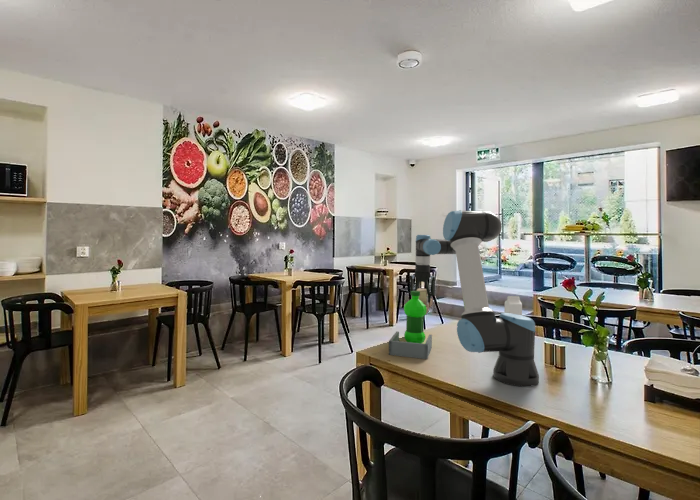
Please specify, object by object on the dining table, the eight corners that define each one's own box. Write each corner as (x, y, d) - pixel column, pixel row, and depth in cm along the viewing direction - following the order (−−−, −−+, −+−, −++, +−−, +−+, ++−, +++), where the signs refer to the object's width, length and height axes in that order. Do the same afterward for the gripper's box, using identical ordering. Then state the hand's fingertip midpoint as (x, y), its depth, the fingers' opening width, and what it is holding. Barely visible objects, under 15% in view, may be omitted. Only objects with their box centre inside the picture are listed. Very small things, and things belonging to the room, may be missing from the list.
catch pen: (427, 359, 155) (427, 345, 155) (388, 354, 160) (388, 340, 160) (431, 347, 170) (431, 334, 170) (396, 344, 175) (396, 331, 175)
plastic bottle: (424, 348, 169) (425, 293, 167) (401, 346, 172) (402, 292, 171) (427, 342, 178) (428, 290, 177) (405, 340, 181) (405, 289, 180)
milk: (503, 339, 184) (504, 295, 183) (515, 339, 184) (516, 295, 183) (508, 343, 178) (509, 297, 177) (521, 343, 178) (522, 297, 177)
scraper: (426, 314, 182) (426, 294, 182) (409, 313, 185) (410, 293, 184) (432, 303, 209) (432, 286, 208) (418, 302, 211) (418, 285, 211)
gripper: (440, 264, 196) (439, 307, 197) (406, 262, 202) (406, 305, 203) (439, 265, 189) (438, 310, 190) (404, 264, 195) (403, 308, 196)
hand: (421, 307), depth 197 cm, fingers closed on scraper, 5 cm apart
